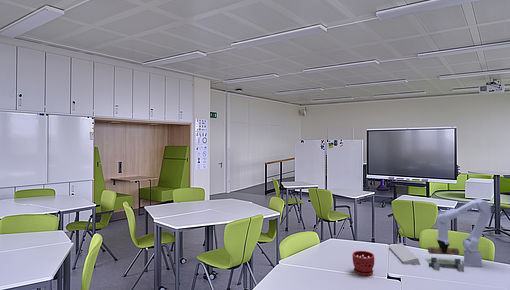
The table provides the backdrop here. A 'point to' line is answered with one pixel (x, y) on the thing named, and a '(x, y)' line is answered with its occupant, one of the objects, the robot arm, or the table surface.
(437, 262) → the mat
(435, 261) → the standards
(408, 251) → the decorative molding
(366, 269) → the plant pot
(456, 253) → the rail
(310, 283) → the table surface
